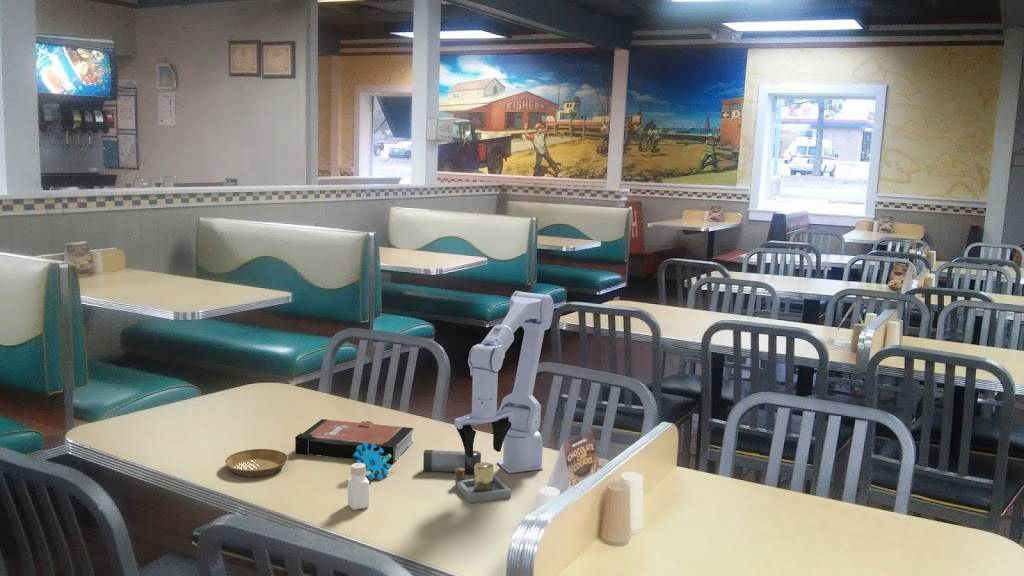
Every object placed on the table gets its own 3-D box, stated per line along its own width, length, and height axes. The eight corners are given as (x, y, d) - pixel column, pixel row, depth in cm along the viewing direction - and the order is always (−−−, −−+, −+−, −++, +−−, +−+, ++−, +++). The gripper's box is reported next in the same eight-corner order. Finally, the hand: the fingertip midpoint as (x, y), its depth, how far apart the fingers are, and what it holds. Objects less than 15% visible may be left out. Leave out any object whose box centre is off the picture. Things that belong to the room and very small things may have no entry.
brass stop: (488, 485, 206) (489, 461, 205) (495, 493, 202) (496, 468, 201) (471, 487, 205) (471, 463, 204) (477, 495, 201) (477, 470, 200)
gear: (366, 479, 205) (350, 442, 209) (352, 492, 208) (337, 455, 212) (401, 473, 213) (385, 438, 217) (388, 485, 216) (372, 450, 220)
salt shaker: (352, 511, 191) (352, 469, 190) (346, 504, 195) (346, 463, 193) (369, 508, 193) (370, 467, 192) (364, 501, 197) (364, 461, 195)
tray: (496, 483, 210) (496, 475, 209) (510, 497, 201) (511, 490, 201) (456, 488, 206) (456, 480, 205) (470, 503, 198) (470, 495, 197)
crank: (481, 468, 218) (481, 450, 217) (479, 474, 214) (480, 456, 213) (424, 466, 218) (425, 448, 217) (422, 472, 214) (423, 454, 214)
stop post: (462, 483, 209) (462, 467, 208) (465, 486, 207) (465, 470, 206) (453, 484, 208) (454, 468, 207) (456, 487, 206) (457, 471, 205)
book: (414, 443, 236) (414, 425, 236) (393, 466, 220) (393, 447, 219) (322, 434, 241) (322, 416, 241) (295, 455, 224) (295, 437, 224)
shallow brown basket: (269, 454, 224) (268, 444, 224) (299, 470, 214) (299, 460, 214) (214, 467, 214) (214, 457, 214) (243, 485, 204) (243, 475, 203)
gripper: (501, 388, 208) (500, 442, 210) (448, 396, 200) (447, 453, 202) (518, 395, 202) (516, 452, 204) (464, 404, 194) (462, 462, 196)
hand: (483, 453), depth 203 cm, fingers open, 7 cm apart
